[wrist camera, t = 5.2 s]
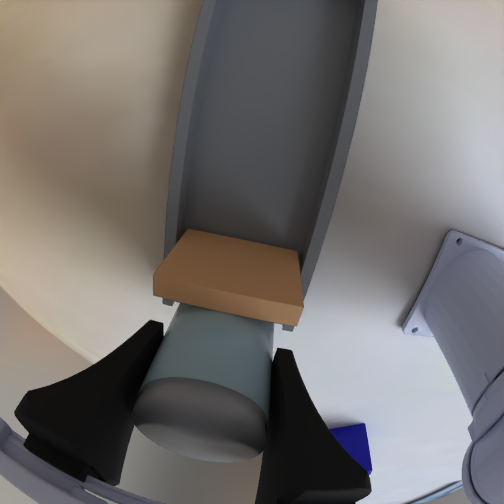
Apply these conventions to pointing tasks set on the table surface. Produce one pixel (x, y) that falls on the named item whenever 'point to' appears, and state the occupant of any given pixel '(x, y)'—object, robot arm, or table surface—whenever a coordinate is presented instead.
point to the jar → (209, 386)
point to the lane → (268, 121)
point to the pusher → (232, 277)
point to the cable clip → (355, 443)
